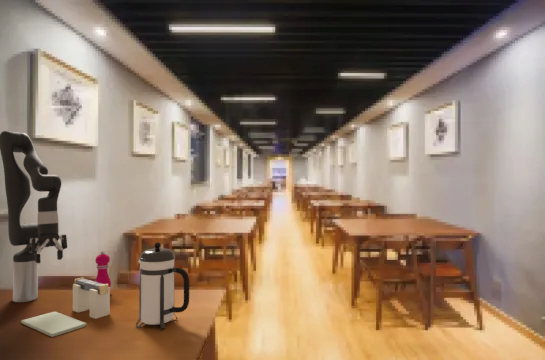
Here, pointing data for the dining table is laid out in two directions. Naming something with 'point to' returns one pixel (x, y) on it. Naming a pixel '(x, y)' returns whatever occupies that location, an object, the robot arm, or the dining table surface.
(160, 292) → the coffee press
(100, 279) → the pepper mill
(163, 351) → the dining table surface
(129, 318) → the dining table surface
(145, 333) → the dining table surface
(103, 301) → the post
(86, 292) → the post
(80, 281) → the rail
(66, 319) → the mat
